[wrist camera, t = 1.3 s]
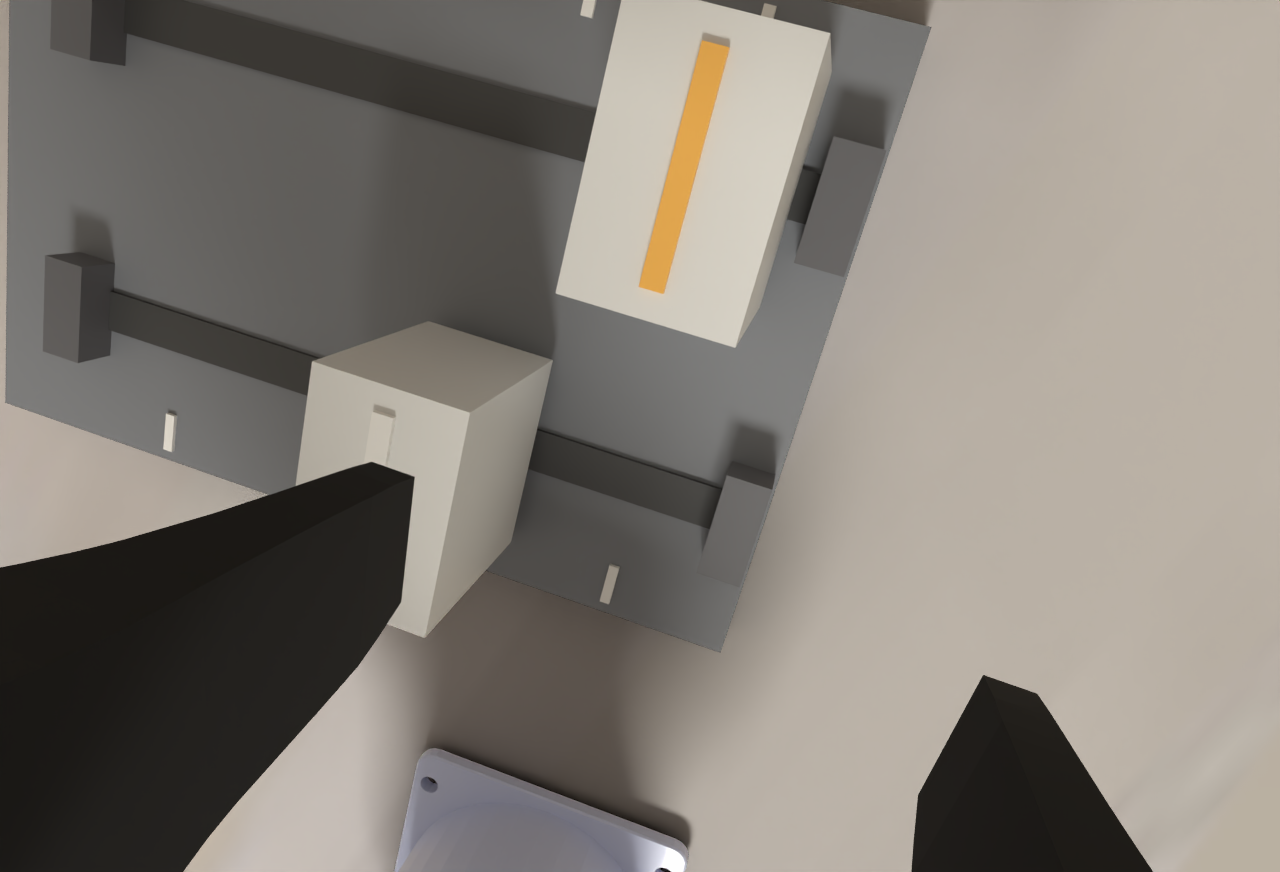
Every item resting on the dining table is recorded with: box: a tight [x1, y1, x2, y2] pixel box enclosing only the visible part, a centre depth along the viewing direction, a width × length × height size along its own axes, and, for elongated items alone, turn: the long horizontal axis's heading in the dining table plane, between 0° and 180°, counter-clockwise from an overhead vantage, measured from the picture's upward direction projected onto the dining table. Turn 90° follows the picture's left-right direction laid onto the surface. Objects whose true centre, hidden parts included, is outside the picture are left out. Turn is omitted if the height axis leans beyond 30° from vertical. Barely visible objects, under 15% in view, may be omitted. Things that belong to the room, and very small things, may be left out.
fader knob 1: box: [296, 321, 553, 638], centre depth 18 cm, size 5×3×5 cm, turn 165°
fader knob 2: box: [556, 0, 832, 348], centre depth 15 cm, size 5×3×5 cm, turn 165°
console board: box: [5, 0, 931, 652], centre depth 20 cm, size 14×20×2 cm
